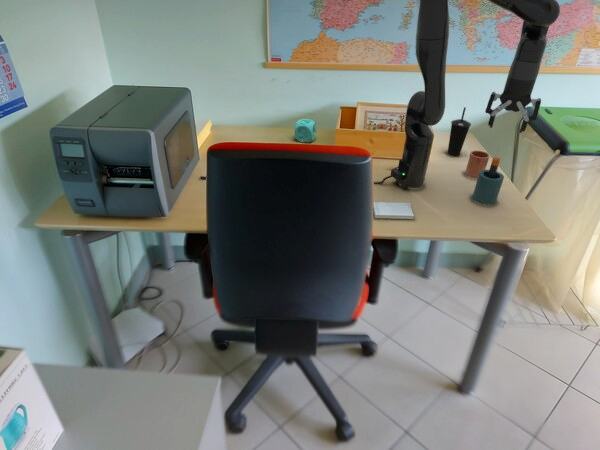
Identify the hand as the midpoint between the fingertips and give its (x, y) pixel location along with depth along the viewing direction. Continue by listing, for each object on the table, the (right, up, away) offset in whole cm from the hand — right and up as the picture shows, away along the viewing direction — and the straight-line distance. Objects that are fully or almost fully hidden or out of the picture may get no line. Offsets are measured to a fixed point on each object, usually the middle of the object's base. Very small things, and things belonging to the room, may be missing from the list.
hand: (505, 129), depth 126 cm
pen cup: (+3, -11, +30) cm, 32 cm away
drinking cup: (+1, 0, +46) cm, 46 cm away
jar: (0, -21, +15) cm, 26 cm away
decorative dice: (-62, +9, +58) cm, 85 cm away
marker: (0, -21, +14) cm, 25 cm away
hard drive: (-34, -26, +8) cm, 43 cm away
